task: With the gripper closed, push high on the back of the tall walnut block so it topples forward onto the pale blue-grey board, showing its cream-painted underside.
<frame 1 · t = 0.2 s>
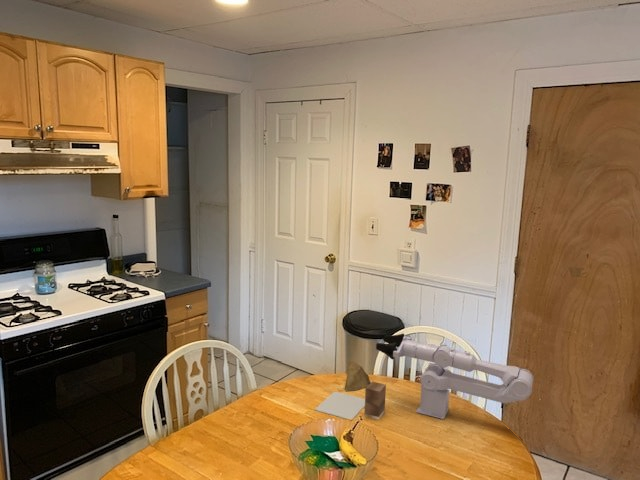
hand: (380, 342, 173), 21 cm above the table, tool horizontal, fingers open, 7 cm apart
rock: (358, 388, 184), on the table
walnut block: (374, 414, 164), on the table
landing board: (342, 405, 169), on the table
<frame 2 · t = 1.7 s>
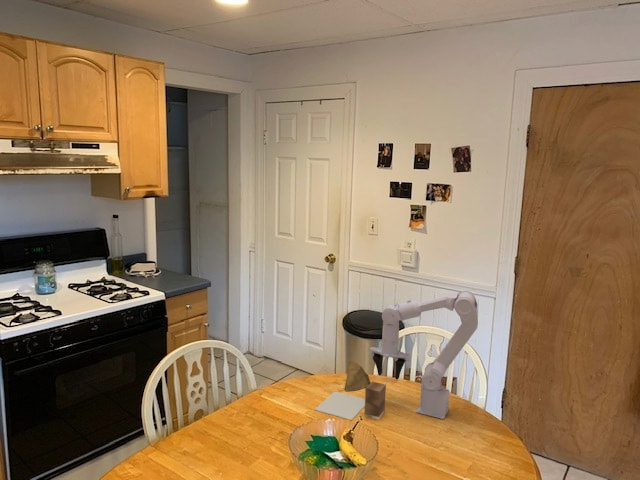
hand: (388, 376, 171), 10 cm above the table, tool pointing down, fingers open, 6 cm apart
nothing on the table moved.
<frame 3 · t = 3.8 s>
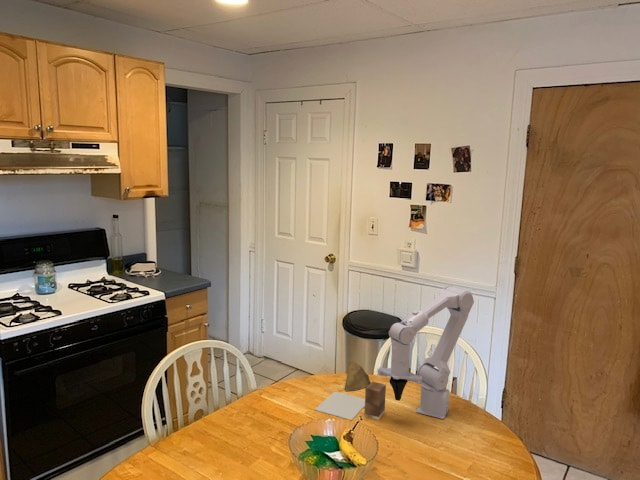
hand: (398, 399, 159), 7 cm above the table, tool pointing down, fingers closed
nothing on the table moved.
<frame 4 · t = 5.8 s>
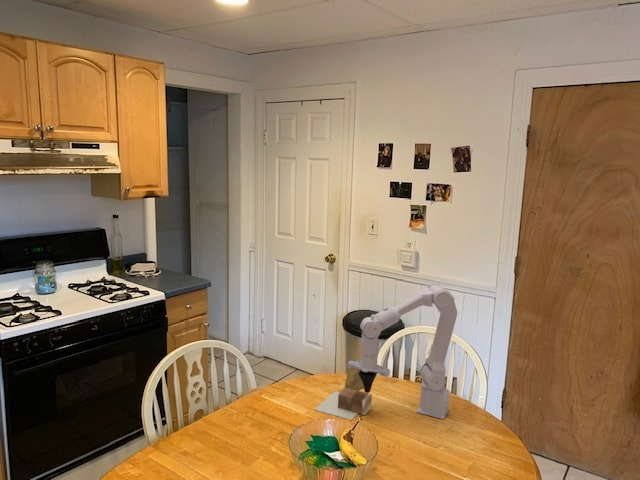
hand: (367, 391, 164), 7 cm above the table, tool pointing down, fingers closed
walnut block: (368, 404, 164), point 3 cm above the table, tilted 90°, touching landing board
everything else where it was.
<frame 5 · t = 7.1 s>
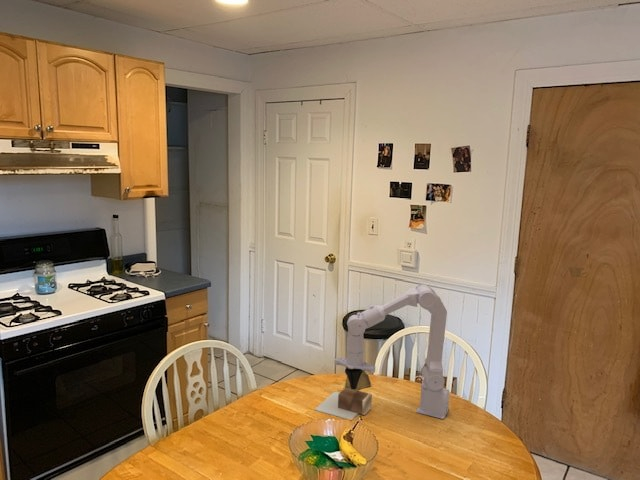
hand: (353, 388, 166), 7 cm above the table, tool pointing down, fingers closed
nothing on the table moved.
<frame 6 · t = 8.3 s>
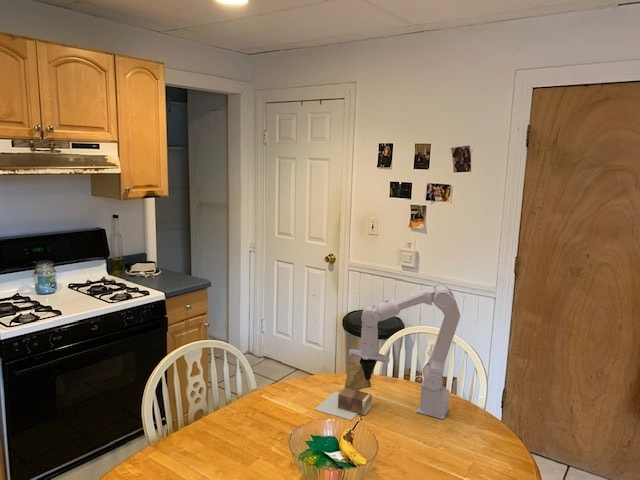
hand: (368, 378, 169), 10 cm above the table, tool pointing down, fingers closed
nothing on the table moved.
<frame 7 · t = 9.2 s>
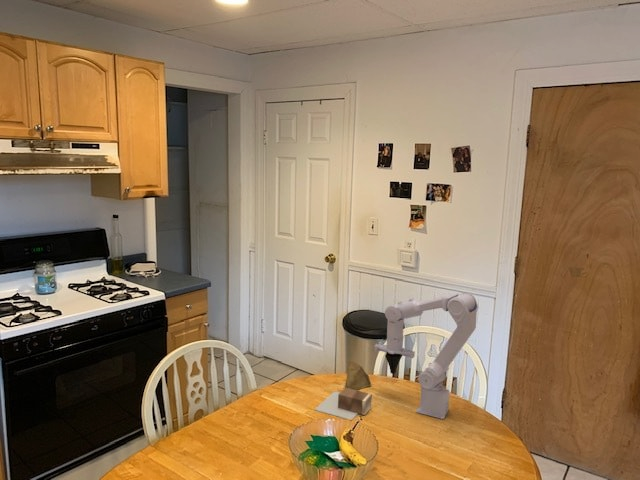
hand: (393, 372, 175), 9 cm above the table, tool pointing down, fingers closed
nothing on the table moved.
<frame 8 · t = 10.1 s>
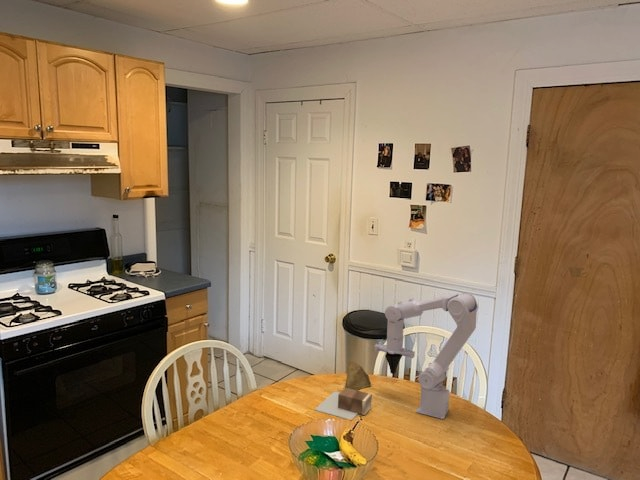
hand: (393, 372, 175), 9 cm above the table, tool pointing down, fingers closed
nothing on the table moved.
at the end: walnut block tilted 90°; walnut block inside the target area (5.1 cm from its centre), point 2.8 cm above the table; walnut block touching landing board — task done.
